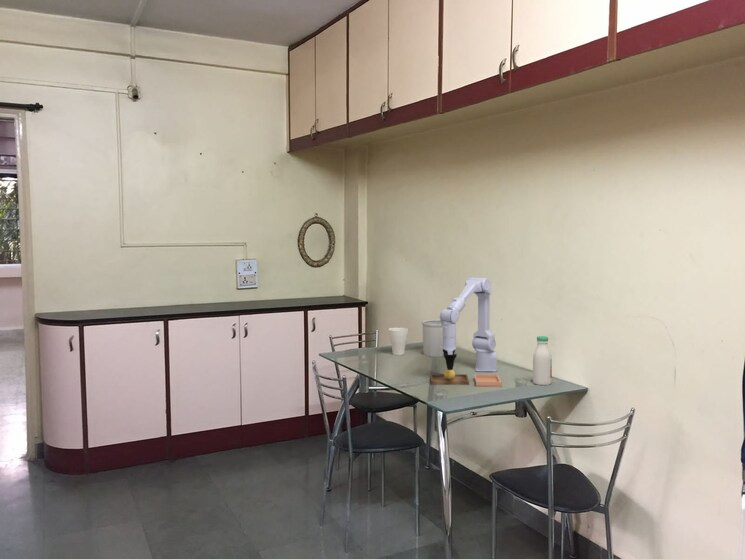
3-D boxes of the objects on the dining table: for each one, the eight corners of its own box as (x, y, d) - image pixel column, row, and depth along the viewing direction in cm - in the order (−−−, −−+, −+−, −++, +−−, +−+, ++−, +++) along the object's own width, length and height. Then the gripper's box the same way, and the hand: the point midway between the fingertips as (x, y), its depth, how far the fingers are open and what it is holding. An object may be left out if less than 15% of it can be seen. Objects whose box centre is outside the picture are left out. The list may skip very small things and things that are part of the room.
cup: (389, 352, 332) (389, 327, 331) (409, 352, 331) (408, 327, 329) (387, 356, 322) (387, 330, 320) (407, 356, 320) (407, 330, 319)
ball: (455, 378, 271) (455, 367, 270) (455, 380, 266) (455, 369, 266) (444, 378, 271) (444, 367, 271) (444, 380, 266) (444, 369, 266)
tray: (466, 377, 274) (466, 374, 274) (469, 384, 262) (469, 381, 262) (430, 377, 275) (430, 374, 275) (431, 384, 263) (431, 381, 263)
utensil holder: (448, 357, 315) (448, 323, 314) (419, 356, 320) (419, 323, 318) (452, 352, 330) (452, 319, 328) (425, 350, 334) (425, 318, 332)
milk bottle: (548, 386, 257) (548, 339, 256) (530, 384, 262) (530, 337, 260) (553, 382, 264) (554, 336, 262) (535, 380, 268) (536, 334, 266)
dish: (497, 379, 270) (497, 374, 270) (501, 386, 258) (501, 382, 258) (473, 379, 271) (473, 374, 271) (476, 386, 259) (476, 381, 259)
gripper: (439, 333, 274) (439, 363, 276) (440, 340, 260) (440, 371, 261) (455, 333, 274) (455, 363, 275) (457, 339, 260) (457, 371, 261)
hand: (449, 367), depth 268 cm, fingers open, 7 cm apart
